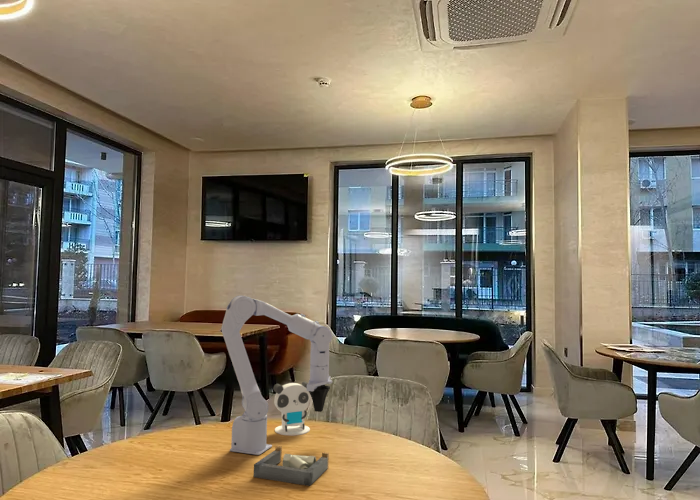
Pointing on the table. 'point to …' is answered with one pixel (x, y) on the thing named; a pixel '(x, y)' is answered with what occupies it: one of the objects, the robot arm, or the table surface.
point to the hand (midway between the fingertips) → (318, 411)
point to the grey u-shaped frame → (289, 469)
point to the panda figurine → (292, 408)
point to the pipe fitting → (298, 461)
